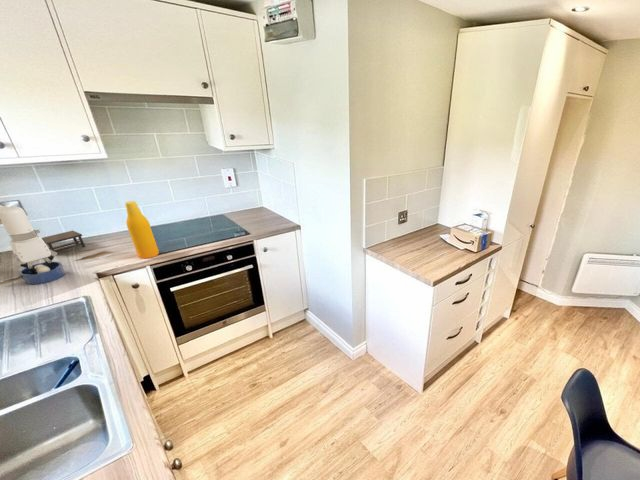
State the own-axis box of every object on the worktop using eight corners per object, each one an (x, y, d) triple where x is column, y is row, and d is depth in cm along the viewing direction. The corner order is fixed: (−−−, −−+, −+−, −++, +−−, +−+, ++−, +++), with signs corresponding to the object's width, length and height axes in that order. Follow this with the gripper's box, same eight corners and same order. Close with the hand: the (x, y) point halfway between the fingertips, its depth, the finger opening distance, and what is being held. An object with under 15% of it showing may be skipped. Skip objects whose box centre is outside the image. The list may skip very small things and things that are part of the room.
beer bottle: (134, 258, 168) (113, 204, 154) (146, 251, 176) (127, 199, 163) (152, 259, 168) (133, 205, 155) (163, 251, 177) (146, 200, 163)
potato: (41, 278, 144) (36, 269, 142) (34, 274, 147) (29, 265, 145) (54, 274, 147) (49, 265, 145) (47, 270, 150) (42, 261, 148)
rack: (54, 259, 164) (46, 243, 160) (46, 254, 168) (37, 238, 164) (88, 249, 175) (81, 234, 171) (79, 245, 179) (72, 230, 175)
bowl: (32, 287, 140) (26, 277, 138) (20, 279, 145) (14, 270, 143) (71, 275, 151) (66, 265, 148) (58, 268, 156) (53, 259, 154)
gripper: (45, 228, 147) (63, 263, 155) (-9, 240, 133) (14, 278, 142) (53, 231, 144) (71, 267, 152) (-2, 244, 130) (21, 282, 139)
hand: (43, 272), depth 147 cm, fingers closed on potato, 4 cm apart
